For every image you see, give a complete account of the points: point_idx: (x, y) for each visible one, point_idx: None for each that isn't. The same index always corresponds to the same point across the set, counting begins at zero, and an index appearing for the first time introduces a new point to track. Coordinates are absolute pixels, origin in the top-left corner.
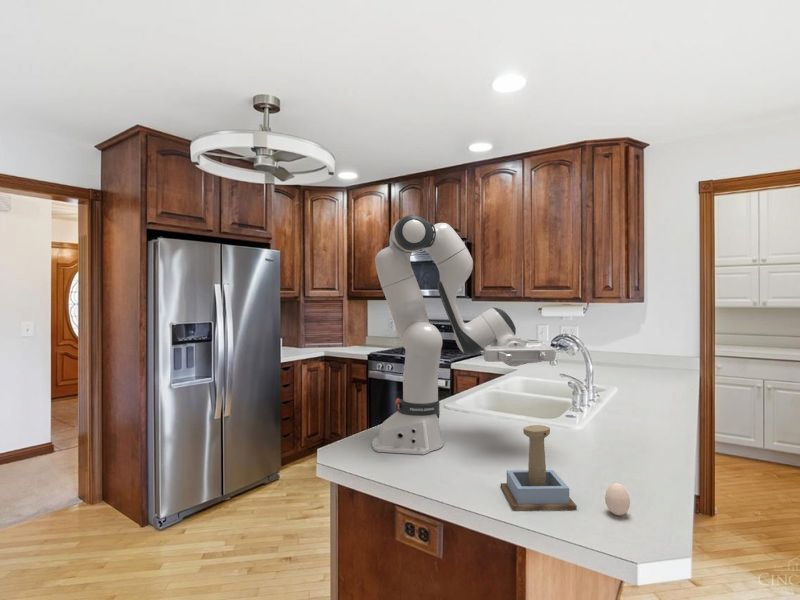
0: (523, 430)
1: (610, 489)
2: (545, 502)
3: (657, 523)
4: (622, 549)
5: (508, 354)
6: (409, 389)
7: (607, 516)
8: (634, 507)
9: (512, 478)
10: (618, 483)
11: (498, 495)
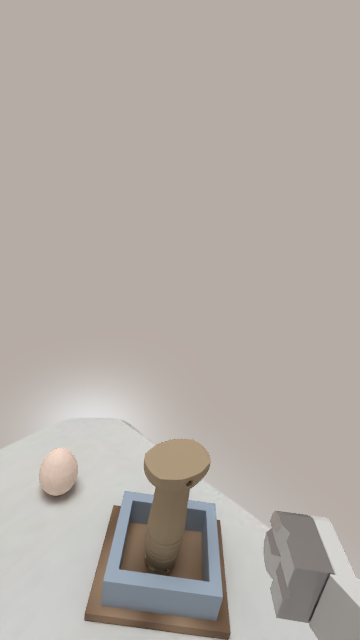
0: (209, 465)
1: (72, 457)
2: None
3: (25, 462)
4: (118, 433)
5: (303, 520)
6: None
7: (78, 488)
8: (7, 504)
9: (216, 546)
10: (57, 451)
11: (237, 591)
